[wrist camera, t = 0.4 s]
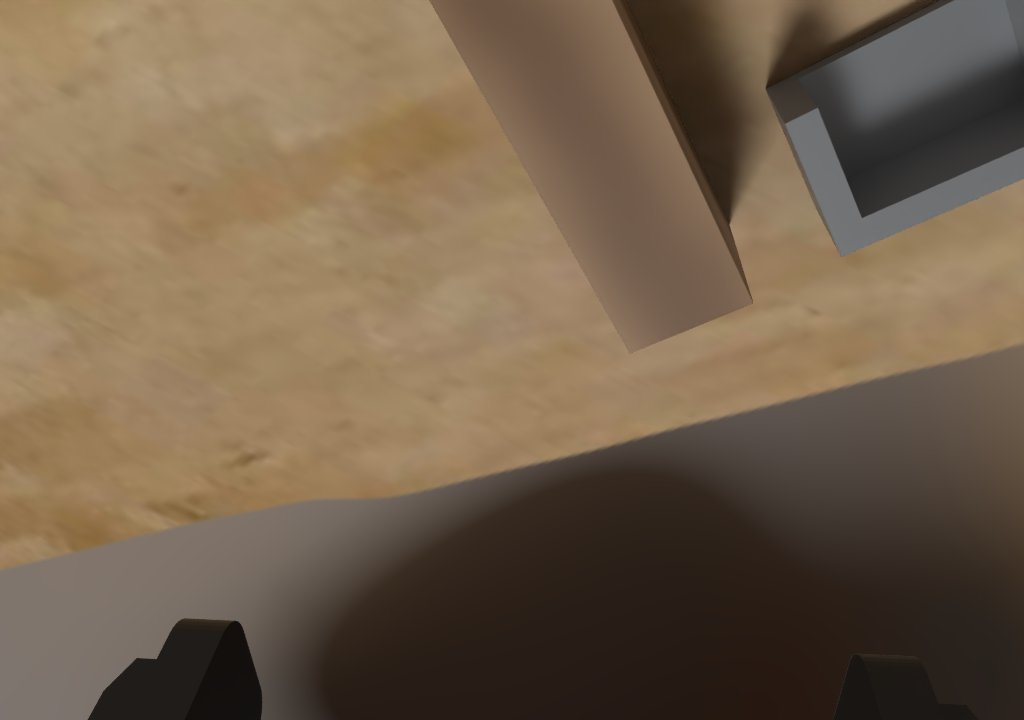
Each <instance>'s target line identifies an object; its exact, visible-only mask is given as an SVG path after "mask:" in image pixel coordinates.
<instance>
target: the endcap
mask: <svg viewBox="0 0 1024 720" xmlns="http://www.w3.org/2000/svg"><path fill="white" fill-rule="evenodd" d="M766 91H767V94H768V96H769V98H770V101H771V103H772V105H773V108H774V110H775V112H776V115H777V117H778V120H779V122H780V124H781V127H782V129H783V131H784V134H785V136H786V138H787V141H788V143H789V145H790V148H791V150H792V152H793V155H794V157H795V159H796V162H797V164H798V167H799V169H800V171H801V174H802V176H803V178H804V181H805V183H806V185H807V188H808V190H809V192H810V195H811V197H812V199H813V202H814V204H815V206H816V209H817V211H818V213H819V215H820V217H821V219H822V221H823V223H824V225H825V227H826V229H827V230H828V232H829V234H830V236H831V238H832V240H833V242H834V244H835V246H836V248H837V250H838V252H839V254H840V255H841V257H842V256H844V255H847V254H849V253H851V252H854V251H856V250H858V249H861V248H863V247H865V246H868V245H870V244H872V243H875V242H877V241H879V240H882V239H884V238H886V237H889V236H891V235H893V234H896V233H898V232H900V231H903V230H905V229H907V228H910V227H912V226H914V225H917V224H919V223H921V222H924V221H926V220H928V219H931V218H933V217H935V216H938V215H940V214H942V213H945V212H947V211H949V210H952V209H954V208H956V207H959V206H961V205H963V204H966V203H968V202H970V201H973V200H975V199H977V198H980V197H982V196H984V195H987V194H989V193H991V192H994V191H996V190H998V189H1001V188H1003V187H1006V186H1008V185H1010V184H1013V183H1015V182H1017V181H1020V180H1022V179H1024V0H939V1H937V2H935V3H934V4H932V5H930V6H928V7H926V8H924V9H922V10H920V11H918V12H916V13H914V14H912V15H910V16H908V17H906V18H904V19H902V20H900V21H898V22H896V23H894V24H892V25H890V26H888V27H886V28H884V29H882V30H881V31H879V32H877V33H875V34H873V35H871V36H869V37H867V38H865V39H863V40H861V41H859V42H857V43H855V44H853V45H851V46H849V47H847V48H845V49H843V50H841V51H839V52H837V53H835V54H833V55H831V56H829V57H827V58H826V59H824V60H822V61H820V62H818V63H816V64H814V65H812V66H810V67H808V68H806V69H804V70H802V71H800V72H798V73H796V74H794V75H792V76H790V77H788V78H786V79H784V80H782V81H780V82H778V83H776V84H774V85H773V86H771V87H769V88H767V89H766Z"/></svg>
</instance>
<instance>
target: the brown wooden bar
mask: <svg viewBox="0 0 1024 720" xmlns="http://www.w3.org/2000/svg"><path fill="white" fill-rule="evenodd" d="M429 1H430V2H431V4H432V6H433V8H434V9H435V11H436V13H437V15H438V16H439V18H440V20H441V22H442V23H443V25H444V27H445V29H446V31H447V32H448V34H449V36H450V38H451V39H452V41H453V43H454V45H455V46H456V48H457V50H458V52H459V53H460V55H461V57H462V59H463V60H464V62H465V64H466V66H467V68H468V69H469V71H470V73H471V75H472V76H473V78H474V80H475V82H476V83H477V85H478V87H479V89H480V90H481V92H482V94H483V96H484V97H485V99H486V101H487V103H488V105H489V106H490V108H491V110H492V112H493V113H494V115H495V117H496V119H497V120H498V122H499V124H500V126H501V127H502V129H503V131H504V133H505V135H506V136H507V138H508V140H509V142H510V143H511V145H512V147H513V149H514V150H515V152H516V154H517V156H518V157H519V159H520V161H521V163H522V164H523V166H524V168H525V170H526V172H527V173H528V175H529V177H530V179H531V180H532V182H533V184H534V186H535V187H536V189H537V191H538V193H539V194H540V196H541V198H542V200H543V201H544V203H545V205H546V207H547V209H548V210H549V212H550V214H551V216H552V217H553V219H554V221H555V223H556V224H557V226H558V228H559V230H560V231H561V233H562V235H563V237H564V239H565V240H566V242H567V244H568V246H569V247H570V249H571V251H572V253H573V254H574V256H575V258H576V260H577V261H578V263H579V265H580V267H581V268H582V270H583V272H584V274H585V276H586V277H587V279H588V281H589V283H590V284H591V286H592V288H593V290H594V291H595V293H596V295H597V297H598V298H599V300H600V302H601V304H602V306H603V307H604V309H605V311H606V313H607V314H608V316H609V318H610V320H611V321H612V323H613V325H614V327H615V328H616V330H617V332H618V334H619V335H620V337H621V339H622V341H623V343H624V344H625V346H626V348H627V350H628V351H629V353H633V352H635V351H638V350H640V349H642V348H645V347H647V346H650V345H652V344H655V343H657V342H660V341H662V340H665V339H667V338H669V337H672V336H674V335H677V334H679V333H682V332H684V331H687V330H689V329H692V328H694V327H696V326H699V325H701V324H704V323H706V322H709V321H711V320H714V319H716V318H719V317H721V316H723V315H726V314H728V313H731V312H733V311H736V310H738V309H741V308H743V307H746V306H748V305H750V304H753V300H752V297H751V294H750V291H749V287H748V284H747V281H746V278H745V274H744V271H743V268H742V264H741V261H740V258H739V255H738V251H737V248H736V245H735V242H734V238H733V235H732V232H731V228H730V225H729V223H728V221H727V219H726V216H725V214H724V212H723V210H722V208H721V205H720V203H719V201H718V199H717V197H716V195H715V192H714V190H713V188H712V186H711V184H710V181H709V179H708V177H707V175H706V173H705V171H704V168H703V166H702V164H701V162H700V160H699V157H698V155H697V153H696V151H695V149H694V147H693V144H692V142H691V140H690V138H689V136H688V133H687V131H686V129H685V127H684V125H683V123H682V120H681V118H680V116H679V114H678V112H677V109H676V107H675V105H674V103H673V101H672V99H671V96H670V94H669V92H668V90H667V88H666V85H665V83H664V81H663V79H662V77H661V75H660V72H659V70H658V68H657V66H656V64H655V61H654V59H653V57H652V55H651V53H650V51H649V48H648V46H647V44H646V42H645V40H644V37H643V35H642V33H641V31H640V29H639V27H638V24H637V22H636V20H635V18H634V16H633V13H632V11H631V9H630V7H629V5H628V3H627V0H429Z"/></svg>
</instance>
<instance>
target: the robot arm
mask: <svg viewBox="0 0 1024 720" xmlns="http://www.w3.org/2000/svg"><path fill="white" fill-rule="evenodd" d="M261 714H262V692H261V687H260V684H259V680H258V677H257V673H256V670H255V667H254V664H253V660H252V657H251V653H250V650H249V647H248V644H247V640H246V637H245V633H244V630H243V628H242V626H241V624H240V623H239V622H238V621H226V620H206V619H186V618H185V619H182V620H180V621H178V623H176V625H175V626H174V627H173V629H172V631H171V632H170V634H169V636H168V638H167V640H166V642H165V644H164V646H163V648H162V650H161V652H160V654H159V656H158V658H157V659H142V658H137V659H136V660H135V661H134V662H133V663H132V664H131V665H130V666H129V667H128V668H126V669H125V670H124V671H123V672H122V674H120V676H118V677H117V678H116V679H115V680H114V681H113V682H112V683H111V684H110V685H109V686H108V687H107V688H106V689H105V690H104V691H103V693H102V695H101V697H100V698H99V700H98V702H97V704H96V706H95V708H94V709H93V711H92V713H91V715H90V717H89V718H88V720H261ZM833 720H978V719H977V717H976V716H975V715H974V714H973V713H972V711H971V710H970V709H969V708H968V707H967V706H966V705H954V704H938V702H937V699H936V696H935V693H934V691H933V688H932V685H931V683H930V680H929V677H928V674H927V672H926V670H925V668H924V666H923V664H922V662H921V661H920V660H919V659H918V658H916V657H912V656H891V655H871V654H870V655H869V654H854V655H853V656H852V658H851V659H850V662H849V665H848V669H847V672H846V676H845V679H844V683H843V687H842V690H841V694H840V697H839V701H838V704H837V708H836V711H835V715H834V718H833Z"/></svg>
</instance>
